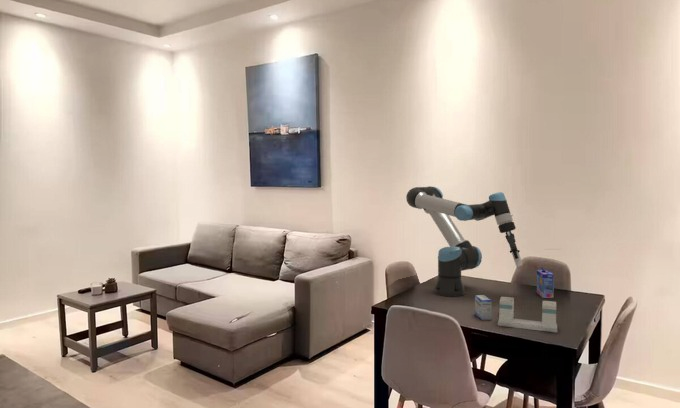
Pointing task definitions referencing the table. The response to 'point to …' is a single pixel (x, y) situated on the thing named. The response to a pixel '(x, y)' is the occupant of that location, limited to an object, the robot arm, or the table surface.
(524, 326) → the white u-shaped block
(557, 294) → the table surface
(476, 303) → the medicine box
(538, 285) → the ink cartridge box
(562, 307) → the table surface
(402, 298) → the table surface
